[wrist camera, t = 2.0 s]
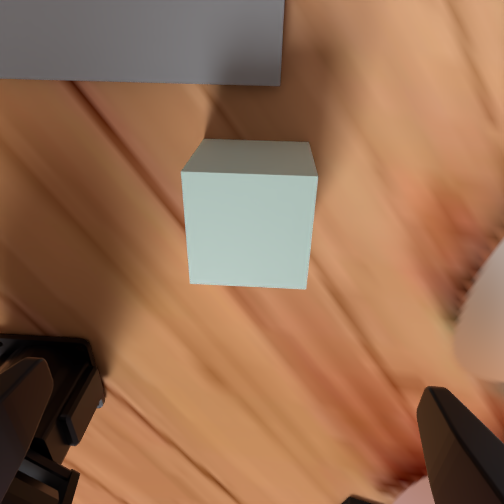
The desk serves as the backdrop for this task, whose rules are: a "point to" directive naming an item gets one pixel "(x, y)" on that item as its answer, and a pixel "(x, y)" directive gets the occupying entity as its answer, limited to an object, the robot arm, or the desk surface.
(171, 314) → the desk surface
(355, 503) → the calculator
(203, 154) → the cube
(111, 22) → the rubber mat
